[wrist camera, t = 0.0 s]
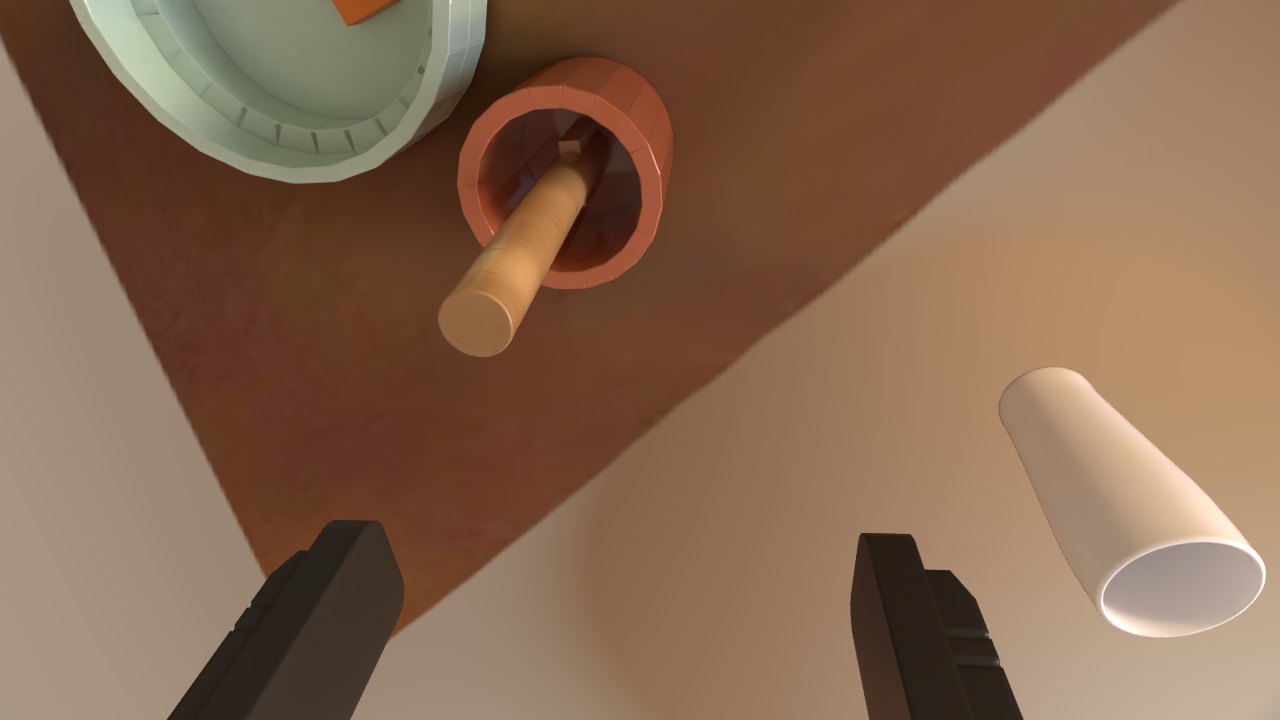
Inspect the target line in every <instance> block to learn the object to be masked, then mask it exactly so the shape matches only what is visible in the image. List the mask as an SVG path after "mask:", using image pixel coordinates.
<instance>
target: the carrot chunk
mask: <svg viewBox="0 0 1280 720" xmlns="http://www.w3.org/2000/svg"><path fill="white" fill-rule="evenodd" d="M332 1H333V3H334V5H335V7H336V8H337V10H338V12H339V13H340V15H341V17H342V18H343V20H344V22H345V24H346V25H347V26H353V25H358V24H361V23H363V22H365V21H366V20H368V19H370V18H372V17H373V16H375V15H377V14H379V13H381V12H382V11H384V10H386V9H388V8H389V7H391V6H393V5H395V4H396V3H398V2H400V1H402V0H332Z"/></svg>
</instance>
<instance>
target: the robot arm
mask: <svg viewBox="0 0 1280 720" xmlns="http://www.w3.org/2000/svg"><path fill="white" fill-rule="evenodd" d="M403 601H404V583H403V579H402V576H401V573H400V570H399V568H398V565H397V562H396V560H395V557H394V554H393V552H392V549H391V546H390V544H389V541H388V538H387V536H386V533H385V530H384V528H383V526H382V525H381V523H379V522H378V521H359V520H333V521H331V522H329V523H328V524H327V525H326V526H325V527H324V529H323V530H322V531H321V533H320V534H319V536H318V537H317V539H316V540H315V542H314V543H313V545H312V546H311V548H310V549H309V551H298V552H297V553H296V554H295V555H293V556H292V557H291V558H290V559H289V560H287V561H286V562H285V563H284V564H283V565H281V566H280V567H279V568H278V569H277V570H275V571H274V572H273V573H272V574H271V575H270V576H269V578H268V579H267V580H266V582H265V583H264V585H263V586H262V587H261V589H260V590H259V592H258V593H257V594H256V596H255V598H254V599H253V600H252V601H251V607H250V608H246V610H245V611H244V613H243V614H242V615H241V617H240V618H239V620H238V621H237V622H236V624H235V629H234V631H230V632H229V634H228V635H227V637H226V638H225V639H224V641H223V642H222V643H221V645H220V646H219V647H218V649H217V651H216V652H215V653H214V654H213V656H212V657H211V659H210V660H209V662H208V663H207V664H206V666H205V667H204V668H203V670H202V671H201V673H200V674H199V675H198V677H197V678H196V680H195V681H194V683H193V684H192V685H191V687H190V688H189V689H188V691H187V692H186V694H185V695H184V697H183V698H182V699H181V701H180V702H179V703H178V705H177V706H176V708H175V709H174V710H173V712H172V713H171V715H170V716H169V717H168V719H167V720H350V719H351V716H352V715H353V712H354V710H355V708H356V706H357V704H358V702H359V700H360V698H361V696H362V693H363V691H364V689H365V687H366V685H367V683H368V681H369V679H370V677H371V674H372V673H373V670H374V669H375V666H376V664H377V662H378V660H379V658H380V656H381V654H382V652H383V650H384V648H385V646H386V643H387V641H388V639H389V637H390V635H391V633H392V631H393V629H394V627H395V625H396V622H397V620H398V618H399V616H400V613H401V610H402V606H403ZM850 606H851V610H850V611H851V626H852V633H853V639H854V645H855V650H856V655H857V660H858V665H859V669H860V675H861V680H862V685H863V690H864V695H865V700H866V705H867V710H868V715H869V720H1023V717H1022V715H1021V712H1020V710H1019V707H1018V705H1017V702H1016V700H1015V697H1014V695H1013V692H1012V690H1011V687H1010V684H1009V682H1008V679H1007V677H1006V674H1005V672H1004V669H1003V668H1002V667H1001V666H1000V659H999V657H998V654H997V652H996V649H995V647H994V644H993V642H992V639H989V631H988V629H987V627H986V624H985V621H984V619H983V616H982V614H981V611H980V609H979V606H978V604H977V601H976V599H975V598H974V597H973V596H972V595H971V593H970V592H969V591H968V590H967V589H966V588H965V587H964V586H963V584H962V583H961V582H960V581H959V580H958V579H957V578H956V577H955V576H954V574H953V573H952V572H951V571H950V570H925V569H924V567H923V564H922V560H921V557H920V554H919V551H918V548H917V545H916V543H915V540H914V538H913V537H912V535H910V534H884V533H861V535H860V537H859V541H858V548H857V555H856V562H855V569H854V577H853V584H852V591H851V603H850Z"/></svg>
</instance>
